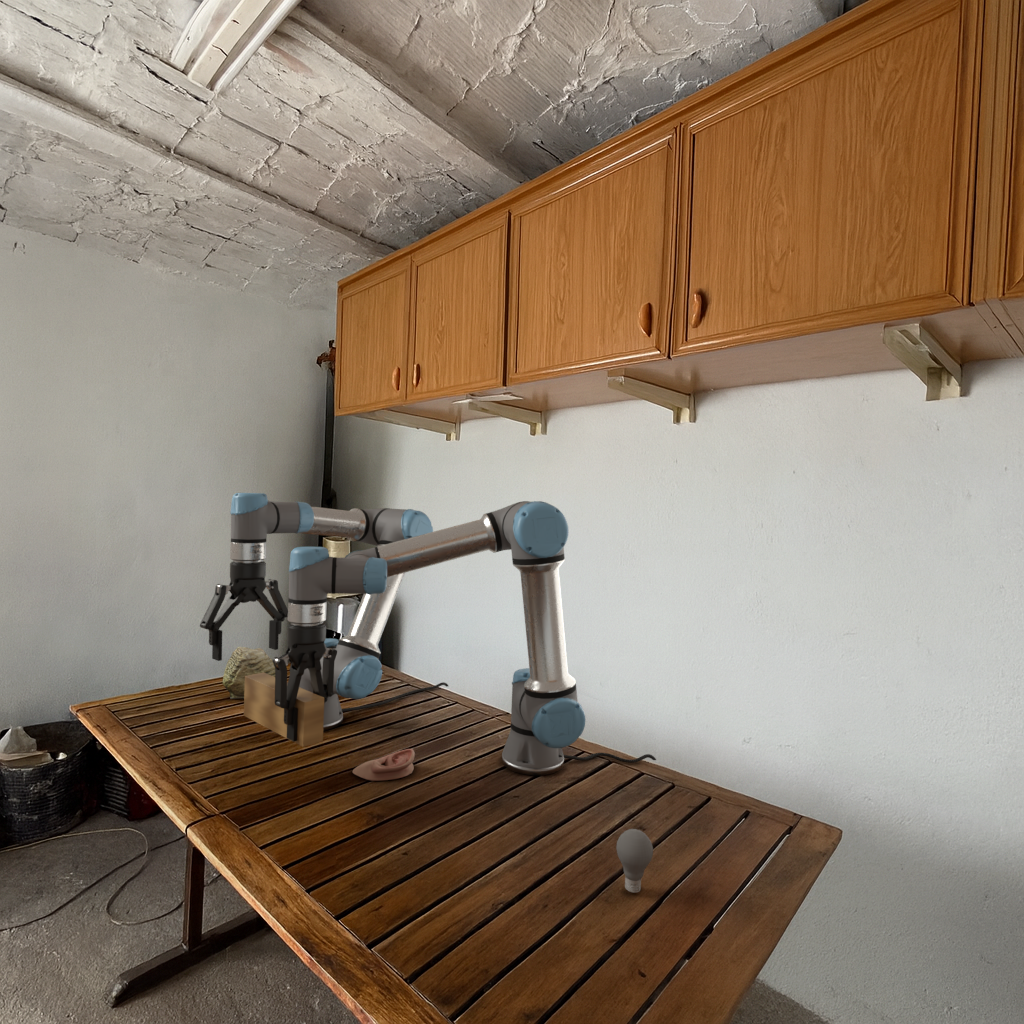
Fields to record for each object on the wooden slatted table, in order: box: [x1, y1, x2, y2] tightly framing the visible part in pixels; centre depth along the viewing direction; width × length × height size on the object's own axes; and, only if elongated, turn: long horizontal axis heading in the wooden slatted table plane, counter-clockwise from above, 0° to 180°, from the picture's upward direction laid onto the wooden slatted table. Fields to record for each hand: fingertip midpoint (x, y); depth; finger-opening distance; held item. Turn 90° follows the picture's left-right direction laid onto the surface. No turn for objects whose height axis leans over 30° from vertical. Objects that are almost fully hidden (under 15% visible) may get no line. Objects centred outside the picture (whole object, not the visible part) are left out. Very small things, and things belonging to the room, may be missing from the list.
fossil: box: [222, 646, 275, 699], centre depth 198 cm, size 9×18×15 cm, turn 132°
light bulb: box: [615, 828, 654, 894], centre depth 106 cm, size 6×6×10 cm
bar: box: [243, 672, 324, 748], centre depth 135 cm, size 25×4×9 cm, turn 49°
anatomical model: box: [352, 748, 416, 782], centre depth 147 cm, size 13×4×12 cm
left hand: (246, 654), depth 144 cm, fingers open, 13 cm apart
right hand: (303, 735), depth 130 cm, fingers closed on bar, 4 cm apart
